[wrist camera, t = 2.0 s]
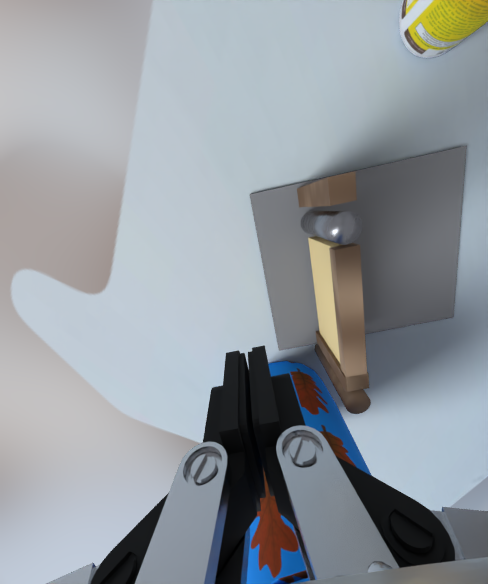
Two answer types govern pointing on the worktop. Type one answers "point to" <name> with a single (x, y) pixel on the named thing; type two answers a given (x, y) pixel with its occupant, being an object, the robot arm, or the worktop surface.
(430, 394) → the worktop surface
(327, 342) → the gate
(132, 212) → the worktop surface
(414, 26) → the supplement bottle
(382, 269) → the gate frame
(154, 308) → the worktop surface
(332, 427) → the thermos
